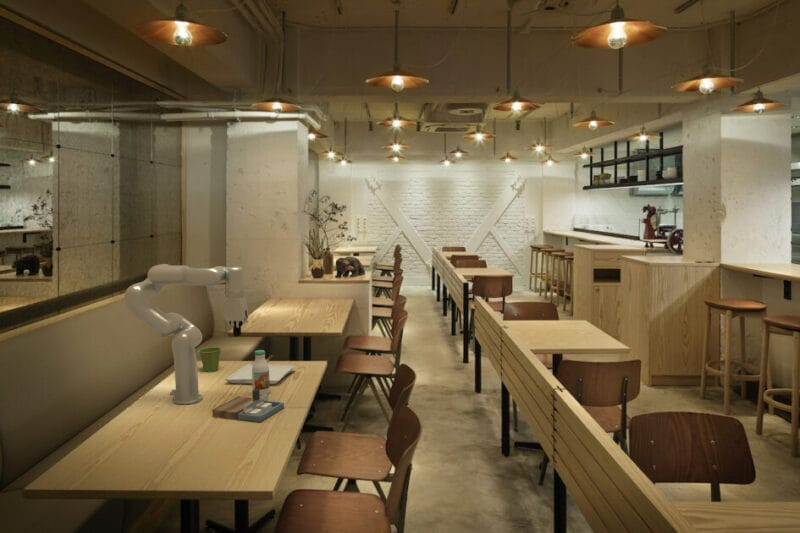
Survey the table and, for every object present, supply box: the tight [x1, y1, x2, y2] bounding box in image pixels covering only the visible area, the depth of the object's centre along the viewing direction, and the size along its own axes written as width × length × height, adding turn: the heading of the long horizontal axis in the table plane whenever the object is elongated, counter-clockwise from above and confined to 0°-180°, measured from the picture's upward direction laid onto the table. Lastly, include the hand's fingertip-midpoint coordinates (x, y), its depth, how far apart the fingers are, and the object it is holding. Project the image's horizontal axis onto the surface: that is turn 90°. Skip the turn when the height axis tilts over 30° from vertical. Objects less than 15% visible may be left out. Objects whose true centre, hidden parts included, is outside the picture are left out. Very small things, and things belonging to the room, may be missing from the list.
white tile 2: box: [255, 403, 272, 412], centre depth 252 cm, size 5×5×2 cm
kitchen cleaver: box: [265, 354, 275, 363], centre depth 332 cm, size 24×1×10 cm
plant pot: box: [197, 346, 222, 373], centre depth 316 cm, size 12×12×11 cm
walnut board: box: [211, 396, 253, 421], centre depth 252 cm, size 12×18×3 cm, turn 160°
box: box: [237, 400, 285, 423], centre depth 248 cm, size 11×18×2 cm, turn 160°
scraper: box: [243, 389, 270, 412], centre depth 248 cm, size 2×16×7 cm, turn 160°
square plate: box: [224, 363, 296, 385], centre depth 301 cm, size 27×27×4 cm
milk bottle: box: [251, 349, 271, 396], centre depth 275 cm, size 8×8×20 cm
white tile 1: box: [245, 409, 262, 416], centre depth 245 cm, size 5×5×2 cm
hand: (237, 335), depth 264 cm, fingers closed
